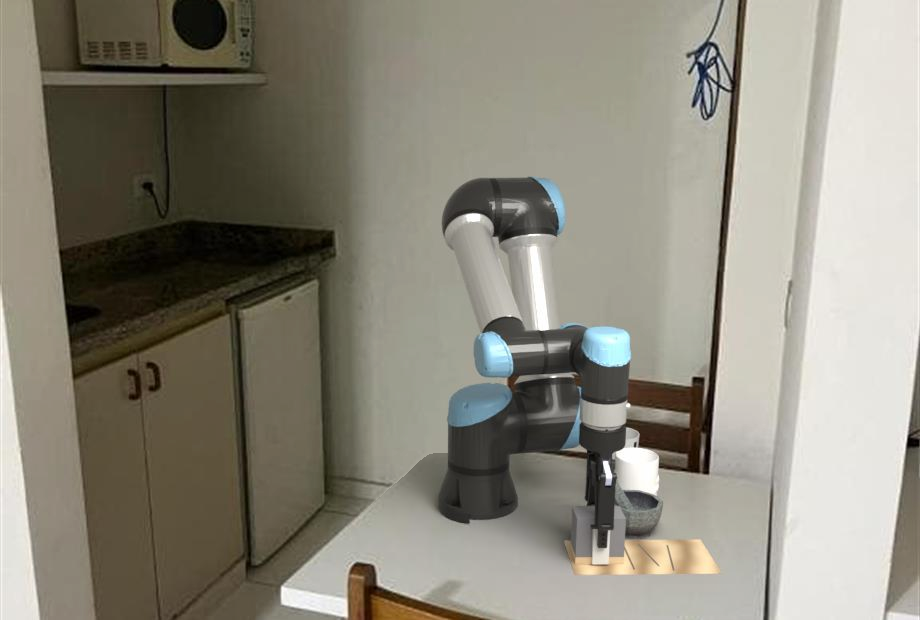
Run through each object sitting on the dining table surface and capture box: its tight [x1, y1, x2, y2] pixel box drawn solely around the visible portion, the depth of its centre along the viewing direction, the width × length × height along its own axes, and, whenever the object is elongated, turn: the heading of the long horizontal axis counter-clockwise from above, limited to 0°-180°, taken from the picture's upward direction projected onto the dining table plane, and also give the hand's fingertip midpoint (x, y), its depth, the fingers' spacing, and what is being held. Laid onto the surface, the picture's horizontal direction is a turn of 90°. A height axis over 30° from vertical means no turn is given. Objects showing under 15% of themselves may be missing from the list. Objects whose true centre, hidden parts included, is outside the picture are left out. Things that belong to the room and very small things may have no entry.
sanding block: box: [570, 505, 626, 564], centre depth 154 cm, size 8×5×8 cm, turn 92°
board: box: [563, 538, 723, 576], centre depth 155 cm, size 24×12×1 cm, turn 92°
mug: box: [614, 447, 660, 497], centre depth 173 cm, size 8×12×12 cm
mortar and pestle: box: [615, 481, 664, 540], centre depth 163 cm, size 11×9×12 cm
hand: (596, 554), depth 154 cm, fingers closed on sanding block, 5 cm apart
